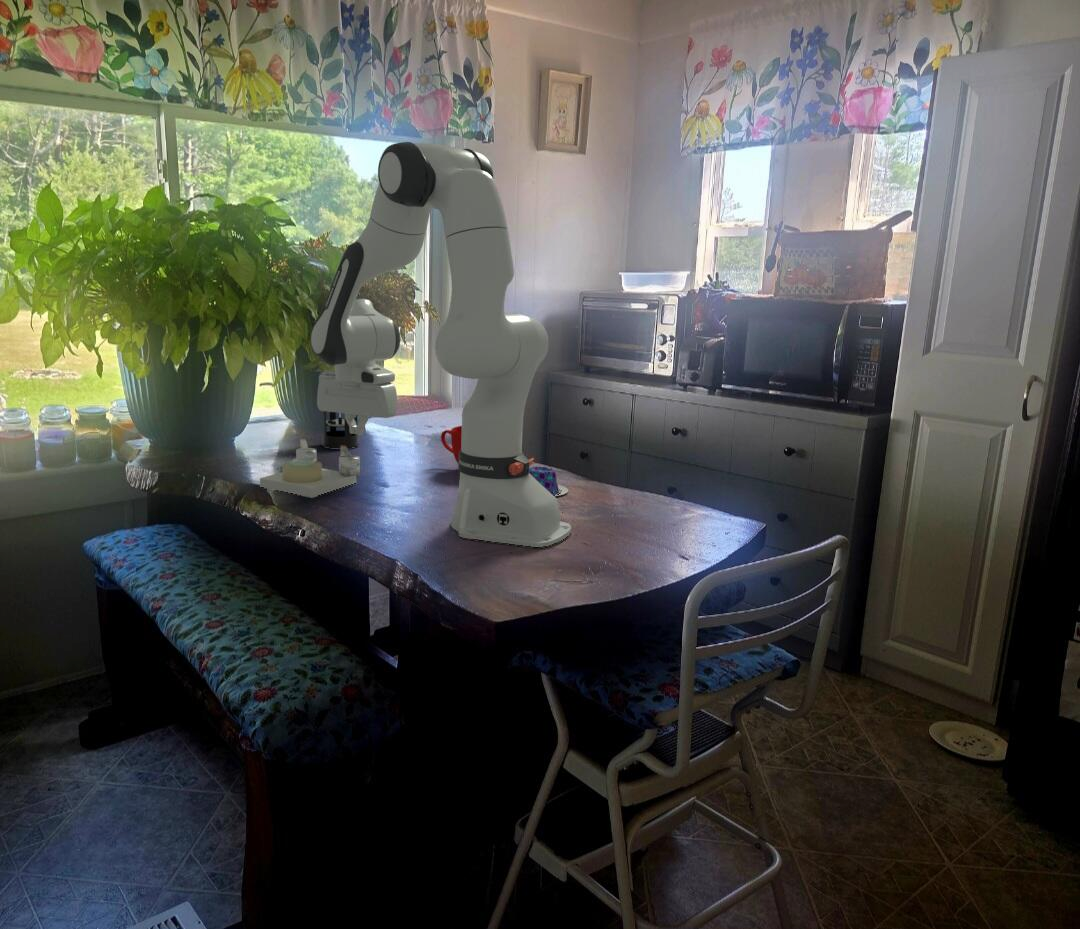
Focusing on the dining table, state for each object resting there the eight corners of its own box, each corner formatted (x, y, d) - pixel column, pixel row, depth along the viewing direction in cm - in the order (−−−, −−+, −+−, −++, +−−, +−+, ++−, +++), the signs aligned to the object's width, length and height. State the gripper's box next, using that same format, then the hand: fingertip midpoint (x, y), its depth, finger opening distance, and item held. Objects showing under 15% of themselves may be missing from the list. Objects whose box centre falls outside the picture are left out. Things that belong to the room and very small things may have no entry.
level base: (356, 483, 176) (356, 455, 175) (312, 497, 164) (311, 467, 162) (306, 474, 182) (305, 446, 181) (260, 487, 170) (259, 458, 168)
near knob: (361, 475, 174) (361, 459, 173) (340, 476, 172) (340, 459, 172) (352, 460, 187) (352, 444, 187) (333, 460, 186) (333, 445, 185)
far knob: (317, 467, 179) (317, 451, 178) (297, 468, 178) (296, 452, 177) (312, 453, 192) (312, 438, 192) (293, 453, 191) (293, 438, 190)
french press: (329, 451, 205) (327, 360, 200) (313, 444, 212) (311, 356, 207) (371, 446, 212) (370, 359, 207) (354, 440, 219) (353, 355, 214)
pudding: (534, 502, 169) (535, 478, 168) (502, 489, 178) (503, 466, 177) (579, 495, 176) (580, 472, 174) (546, 483, 185) (547, 460, 184)
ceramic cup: (456, 460, 202) (457, 420, 199) (515, 470, 194) (516, 429, 192) (425, 470, 190) (426, 428, 188) (486, 481, 183) (487, 438, 181)
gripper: (309, 370, 181) (311, 431, 184) (383, 376, 172) (384, 440, 175) (328, 368, 187) (330, 427, 190) (401, 374, 178) (402, 436, 181)
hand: (357, 433), depth 183 cm, fingers closed
